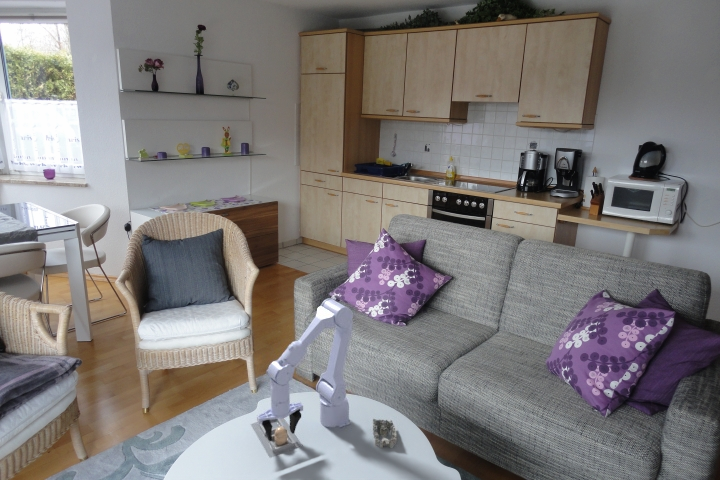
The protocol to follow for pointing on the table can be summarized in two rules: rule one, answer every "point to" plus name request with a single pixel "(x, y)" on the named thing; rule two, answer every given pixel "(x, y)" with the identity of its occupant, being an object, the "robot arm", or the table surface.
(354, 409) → the table surface
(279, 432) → the egg
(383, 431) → the grey stone ruin model
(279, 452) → the egg stand
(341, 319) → the robot arm
